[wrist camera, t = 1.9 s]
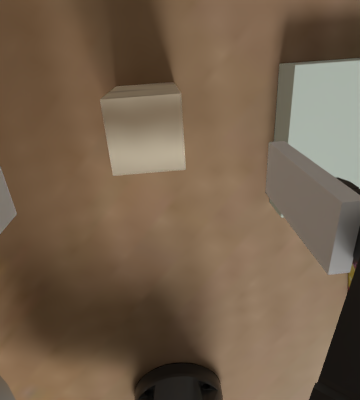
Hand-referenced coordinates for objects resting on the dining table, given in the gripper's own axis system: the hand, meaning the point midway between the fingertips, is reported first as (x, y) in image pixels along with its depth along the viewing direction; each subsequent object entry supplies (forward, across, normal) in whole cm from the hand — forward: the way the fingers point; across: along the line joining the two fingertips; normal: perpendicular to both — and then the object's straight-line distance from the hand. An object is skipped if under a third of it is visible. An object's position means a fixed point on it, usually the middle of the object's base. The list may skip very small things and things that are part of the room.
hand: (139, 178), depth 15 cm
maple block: (+19, 0, 0) cm, 19 cm away
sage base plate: (+19, -22, +4) cm, 30 cm away
